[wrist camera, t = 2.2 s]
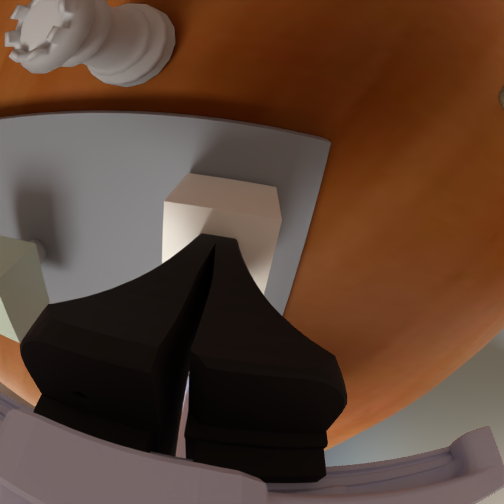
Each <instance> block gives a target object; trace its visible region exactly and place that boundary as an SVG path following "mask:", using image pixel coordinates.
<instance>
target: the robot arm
mask: <svg viewBox="0 0 504 504" xmlns="http://www.w3.org/2000/svg"><path fill="white" fill-rule="evenodd" d="M20 352H21V357H22V359H23V362H24V364H25V366H26V368H27V370H28V372H29V373H30V375H31V377H32V378H33V380H34V382H35V383H36V385H37V387H38V388H39V390H40V392H41V393H42V395H41V397H40V399H39V401H38V403H37V405H36V407H35V409H34V410H33V409H32V408H30V407H27V406H26V405H24V404H22V403H20V402H18V401H16V400H14V399H12V398H11V397H9V396H7V395H5V394H3V393H2V392H0V504H475V503H477V502H479V501H481V500H483V499H484V498H486V497H488V496H490V495H491V494H493V493H495V492H497V491H498V490H500V489H501V488H503V487H504V465H503V462H502V459H501V456H500V453H499V450H498V447H497V445H496V442H495V440H494V437H493V434H492V432H491V429H490V427H489V426H486V427H482V428H479V429H476V430H473V431H470V432H468V433H466V434H464V435H462V436H461V437H459V438H458V439H457V440H455V441H454V442H453V443H452V444H451V446H449V447H445V448H442V449H438V450H434V451H430V452H426V453H422V454H417V455H413V456H408V457H403V458H397V459H392V460H386V461H379V462H373V463H365V464H356V465H347V466H334V467H325V457H324V448H326V447H327V444H328V441H327V433H326V431H327V430H328V428H329V427H330V426H331V425H332V424H333V423H334V421H335V420H336V419H337V418H338V417H339V415H340V414H341V413H342V412H343V410H344V408H345V406H346V404H347V393H346V388H345V383H344V380H343V377H342V373H341V371H340V368H339V366H338V363H337V360H336V357H335V356H334V355H333V354H331V353H330V352H328V351H326V350H325V349H323V348H322V347H320V346H319V345H317V344H316V343H314V342H313V341H311V340H310V339H308V338H307V337H306V336H305V335H303V334H302V333H301V332H300V331H298V330H297V329H296V328H295V327H293V326H292V325H291V324H290V323H289V322H288V321H287V320H286V319H285V318H284V317H283V316H282V315H281V314H280V313H279V312H278V311H277V310H276V309H275V308H274V307H273V306H272V305H271V304H270V302H269V301H268V300H267V299H266V297H265V296H264V295H263V293H262V292H261V290H260V289H259V287H258V286H257V284H256V283H255V281H254V279H253V278H252V276H251V274H250V272H249V270H248V268H247V266H246V264H245V262H244V259H243V257H242V254H241V252H240V248H239V244H238V241H237V240H236V239H235V238H229V237H223V236H217V235H210V234H204V233H201V234H200V235H198V236H197V237H196V238H195V239H194V240H193V241H191V242H190V243H189V244H188V245H187V246H185V247H184V248H183V249H182V250H180V251H179V252H178V253H176V254H175V255H174V256H173V257H171V258H170V259H168V260H167V261H165V262H164V263H162V264H161V265H159V266H158V267H156V268H155V269H153V270H151V271H149V272H147V273H146V274H144V275H142V276H140V277H138V278H136V279H134V280H131V281H129V282H126V283H124V284H122V285H119V286H117V287H114V288H112V289H109V290H106V291H103V292H100V293H97V294H93V295H90V296H86V297H82V298H78V299H73V300H68V301H63V302H58V303H53V304H48V305H47V306H46V307H45V309H44V310H43V311H42V313H41V314H40V315H39V317H38V318H37V319H36V321H35V322H34V324H33V325H32V326H31V328H30V329H29V331H28V332H27V334H26V335H25V337H24V338H23V340H22V342H21V344H20ZM181 415H182V417H181ZM180 421H181V422H180Z"/></svg>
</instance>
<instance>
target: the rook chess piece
mask: <svg viewBox="0 0 504 504" xmlns="http://www.w3.org/2000/svg"><path fill="white" fill-rule="evenodd" d="M10 19H18V20H19V21H18V24H17V27H16V30H15V31H9V32H7V33H5V47H15V49H13V51H12V52H11V54H10V55H9V58H11V59H12V60H14V61H15V62H21V64H22V66H23V67H24V68H26V69H27V70H28V71H30V72H31V73H45V74H46V73H48V72H50V71H52V70H54V69H56V68H58V67H61V66H63V67H73V66H76V65H78V64H81V63H82V64H85V65H87V67H88V69H89V70H90V72H91V74H92V75H94V76H95V77H97V78H98V79H100V80H101V81H102V82H104V83H105V84H112V85H118V86H124V87H130V86H134V85H138V84H142V83H145V82H146V81H148V80H149V79H151V78H152V77H154V76H155V75H157V74H158V73H159V72H160V71H161V70H162V68H163V67H164V66H165V65H166V63H167V62H168V61H169V60H170V57H171V54H172V51H173V48H174V46H175V30H174V26H173V24H172V23H171V21H170V19H169V18H168V16H167V15H166V14H165V13H163V12H161V11H159V10H158V9H156V8H154V7H151V6H149V5H148V4H135V3H127V4H124V5H121V6H118V7H109V5H108V3H107V1H106V0H32V1H31V2H30V3H29V4H28V5H27V6H24V5H19V4H18V5H17V7H16V8H15V10H14V12H13V14H12V15H11V17H10Z"/></svg>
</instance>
